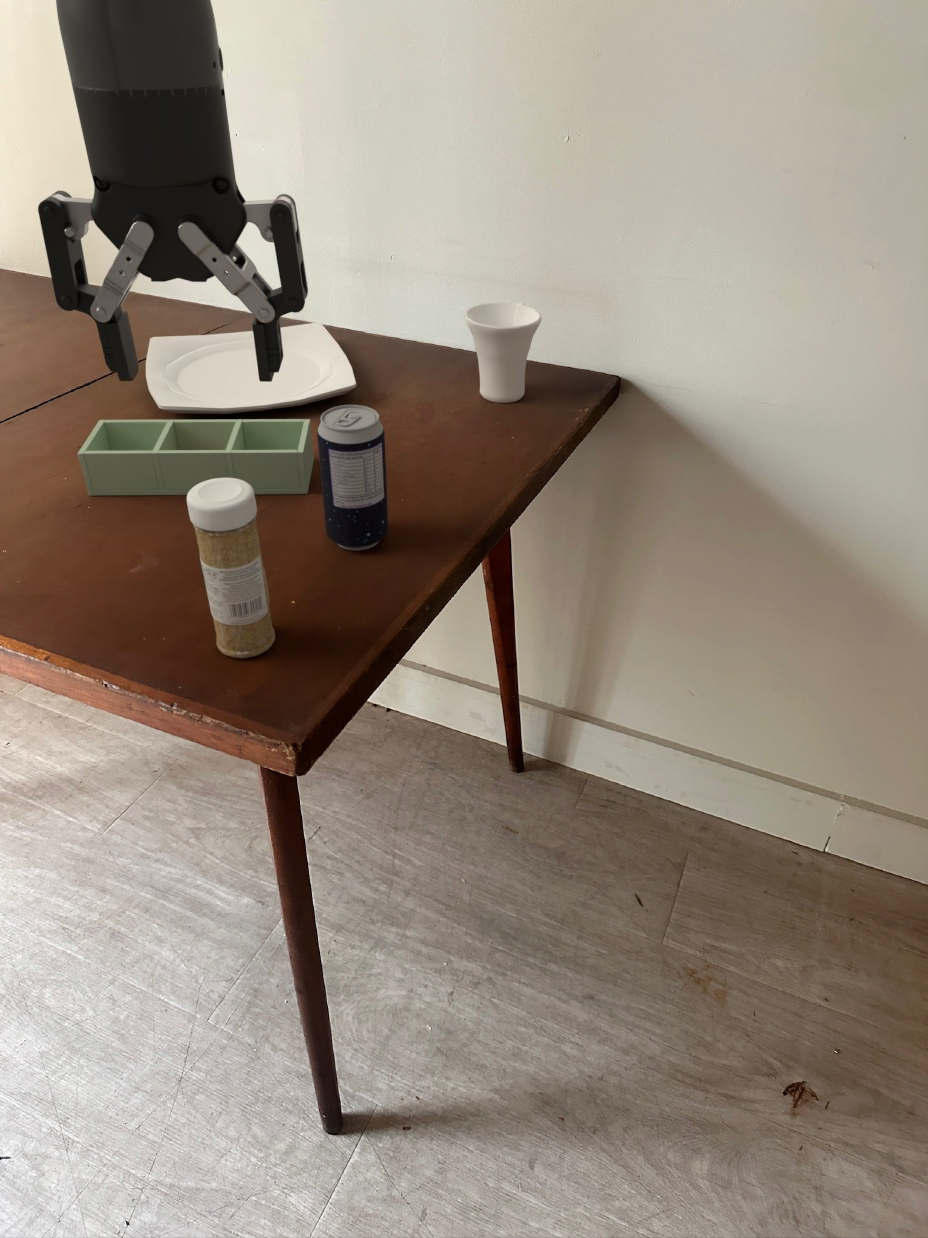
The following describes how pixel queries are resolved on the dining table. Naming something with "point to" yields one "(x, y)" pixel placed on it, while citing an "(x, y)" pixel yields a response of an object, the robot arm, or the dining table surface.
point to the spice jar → (232, 565)
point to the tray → (197, 455)
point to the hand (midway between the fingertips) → (199, 376)
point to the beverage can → (353, 476)
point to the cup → (502, 347)
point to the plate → (245, 371)
